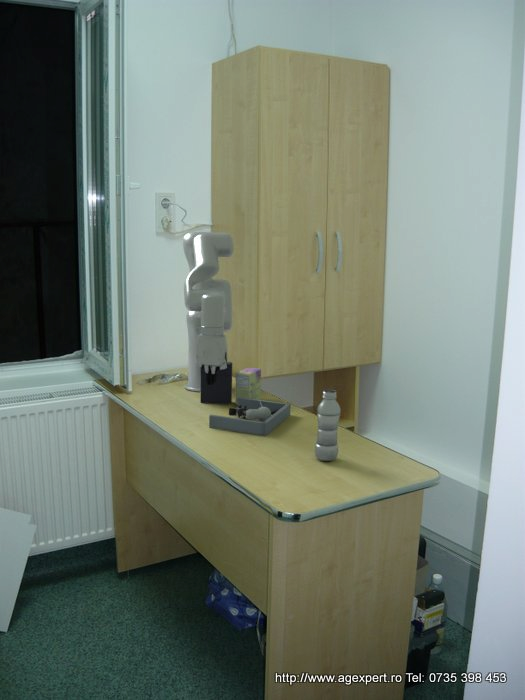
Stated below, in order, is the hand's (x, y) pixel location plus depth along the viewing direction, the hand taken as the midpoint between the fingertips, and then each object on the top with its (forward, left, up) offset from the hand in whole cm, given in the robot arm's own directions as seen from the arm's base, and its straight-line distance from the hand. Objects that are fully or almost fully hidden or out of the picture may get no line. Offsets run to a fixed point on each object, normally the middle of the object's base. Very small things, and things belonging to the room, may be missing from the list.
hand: (211, 383), depth 228 cm
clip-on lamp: (-2, +16, -11) cm, 20 cm away
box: (-20, +5, -11) cm, 24 cm away
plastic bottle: (+25, +47, -11) cm, 55 cm away
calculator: (-14, -5, -11) cm, 19 cm away
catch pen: (+1, +14, -11) cm, 18 cm away
